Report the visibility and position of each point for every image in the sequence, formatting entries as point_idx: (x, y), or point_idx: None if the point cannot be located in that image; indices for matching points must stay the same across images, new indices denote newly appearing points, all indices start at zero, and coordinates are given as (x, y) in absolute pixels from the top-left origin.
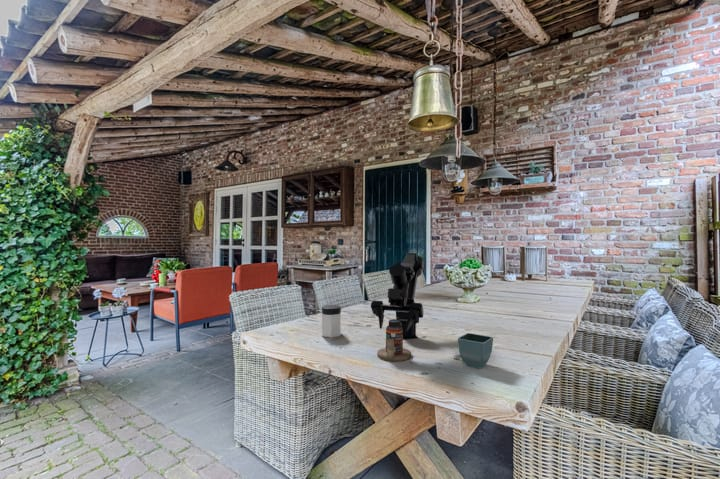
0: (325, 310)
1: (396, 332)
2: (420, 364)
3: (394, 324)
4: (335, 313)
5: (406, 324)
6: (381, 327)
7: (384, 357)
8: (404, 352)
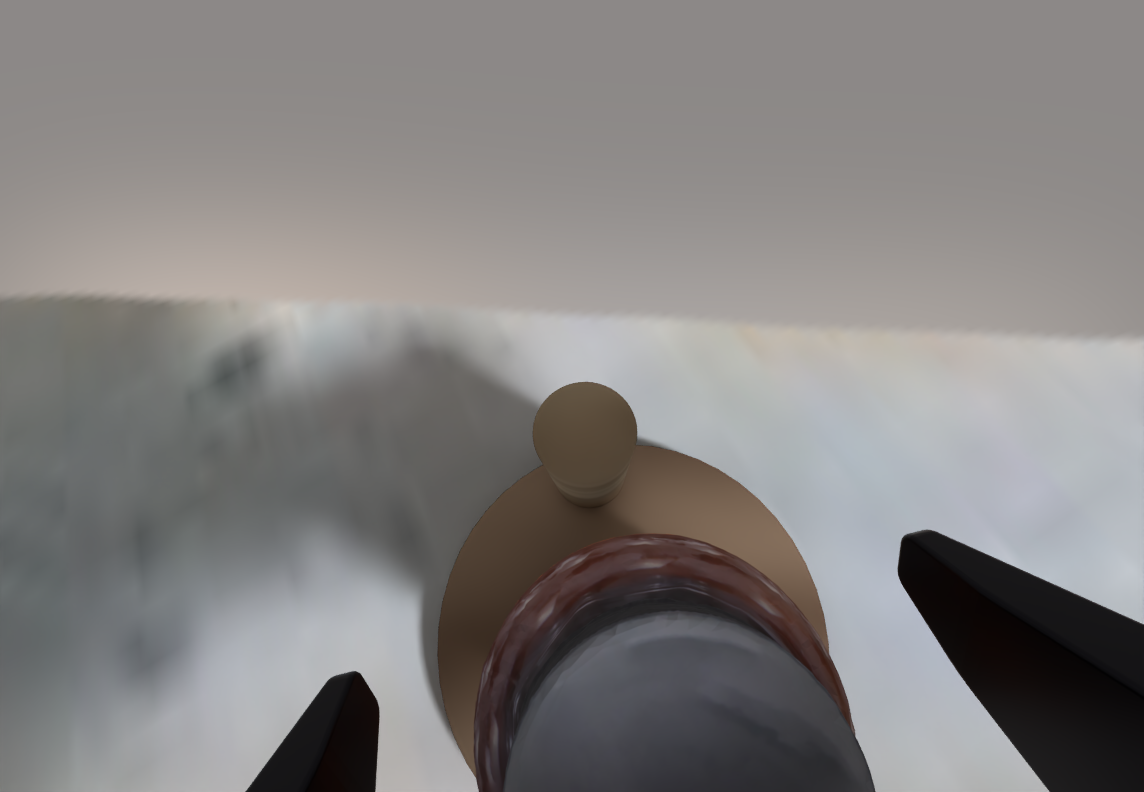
0: None
1: (544, 573)
2: (311, 531)
3: (599, 617)
4: None
5: (301, 787)
6: (918, 593)
7: (644, 446)
8: None
